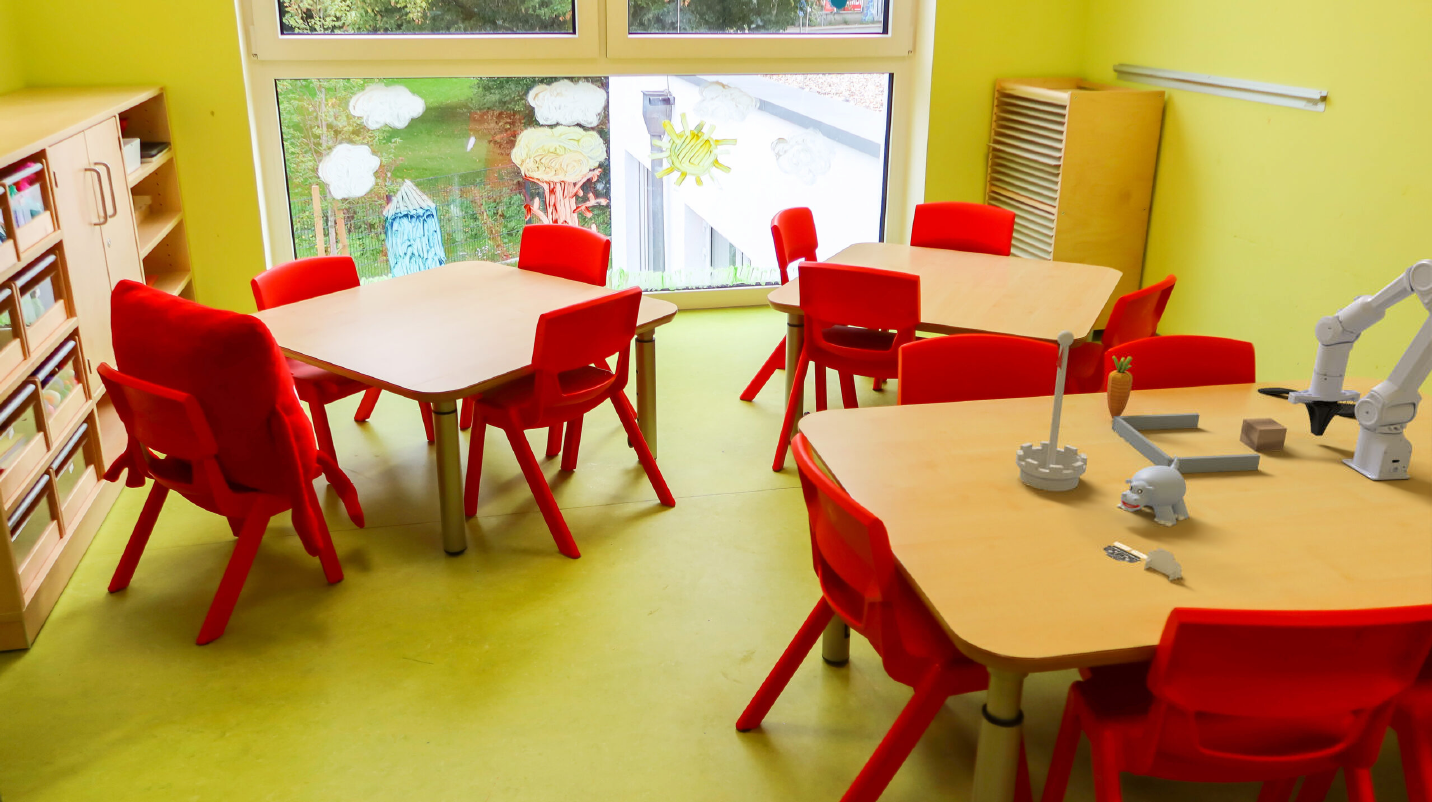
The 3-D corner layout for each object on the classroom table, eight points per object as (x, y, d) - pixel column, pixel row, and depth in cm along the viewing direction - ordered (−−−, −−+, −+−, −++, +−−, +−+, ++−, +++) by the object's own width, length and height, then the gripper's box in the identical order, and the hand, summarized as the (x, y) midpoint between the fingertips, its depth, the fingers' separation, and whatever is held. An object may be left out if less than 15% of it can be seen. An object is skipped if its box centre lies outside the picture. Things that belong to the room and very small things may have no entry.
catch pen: (1257, 469, 218) (1260, 455, 217) (1166, 473, 216) (1168, 459, 215) (1195, 425, 240) (1197, 413, 239) (1111, 429, 238) (1113, 416, 237)
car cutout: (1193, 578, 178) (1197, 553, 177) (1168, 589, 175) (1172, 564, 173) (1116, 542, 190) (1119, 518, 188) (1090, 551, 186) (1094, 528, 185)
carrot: (1098, 418, 245) (1106, 354, 239) (1115, 415, 247) (1123, 351, 241) (1114, 425, 240) (1123, 360, 235) (1131, 422, 242) (1140, 357, 237)
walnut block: (1282, 450, 228) (1287, 428, 226) (1255, 452, 227) (1259, 429, 225) (1266, 440, 233) (1270, 418, 232) (1239, 441, 233) (1243, 419, 231)
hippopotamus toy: (1097, 514, 199) (1104, 466, 196) (1145, 493, 208) (1152, 446, 204) (1151, 536, 191) (1159, 486, 188) (1198, 513, 200) (1206, 465, 196)
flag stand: (1025, 461, 222) (1040, 317, 212) (1091, 474, 216) (1110, 327, 205) (1005, 483, 211) (1020, 334, 201) (1074, 499, 205) (1093, 345, 195)
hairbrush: (1266, 377, 264) (1382, 398, 247) (1264, 391, 265) (1379, 413, 248) (1252, 385, 259) (1369, 407, 242) (1250, 400, 260) (1366, 422, 243)
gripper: (1349, 365, 231) (1336, 425, 235) (1284, 367, 229) (1272, 428, 234) (1371, 376, 224) (1358, 438, 229) (1305, 378, 222) (1292, 440, 227)
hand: (1316, 434), depth 231 cm, fingers closed
